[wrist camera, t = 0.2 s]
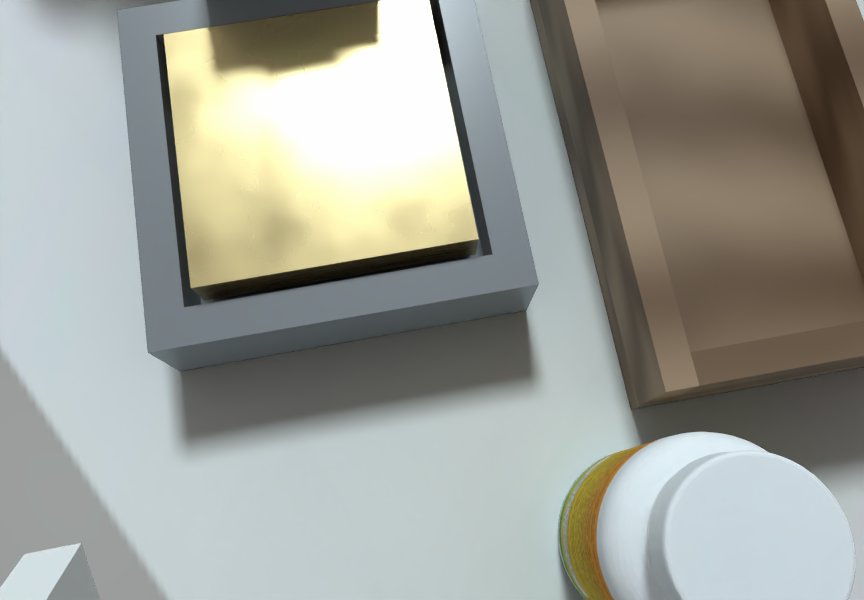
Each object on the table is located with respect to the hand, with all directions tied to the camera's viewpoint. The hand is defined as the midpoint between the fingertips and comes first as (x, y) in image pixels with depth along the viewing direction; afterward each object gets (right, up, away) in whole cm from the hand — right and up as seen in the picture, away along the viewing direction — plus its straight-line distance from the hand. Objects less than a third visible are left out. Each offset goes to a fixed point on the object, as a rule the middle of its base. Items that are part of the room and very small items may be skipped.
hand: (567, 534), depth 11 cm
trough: (+8, +9, +18) cm, 22 cm away
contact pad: (-6, +8, +15) cm, 18 cm away
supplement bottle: (+5, -4, +15) cm, 16 cm away
